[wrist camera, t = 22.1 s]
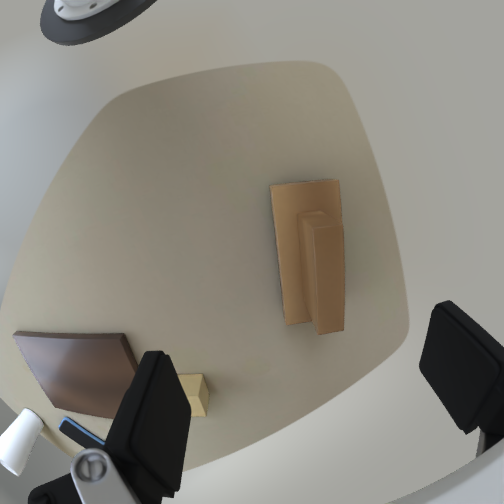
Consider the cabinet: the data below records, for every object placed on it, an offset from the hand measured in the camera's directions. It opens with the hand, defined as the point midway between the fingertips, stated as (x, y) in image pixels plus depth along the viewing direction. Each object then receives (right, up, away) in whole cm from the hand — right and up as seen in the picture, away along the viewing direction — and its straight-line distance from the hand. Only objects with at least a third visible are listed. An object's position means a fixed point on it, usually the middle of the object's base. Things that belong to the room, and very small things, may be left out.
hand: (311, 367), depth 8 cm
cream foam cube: (-9, -11, +19) cm, 24 cm away
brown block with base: (+3, +4, +15) cm, 16 cm away
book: (-24, -13, +20) cm, 34 cm away
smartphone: (-30, -31, +25) cm, 50 cm away
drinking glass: (-45, -29, +25) cm, 59 cm away
